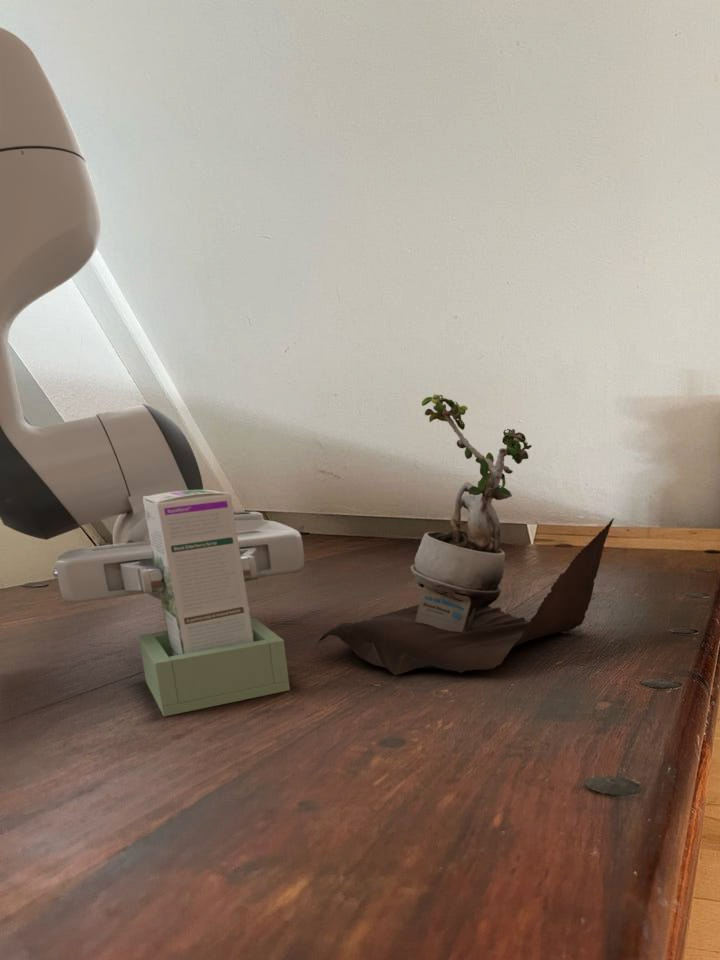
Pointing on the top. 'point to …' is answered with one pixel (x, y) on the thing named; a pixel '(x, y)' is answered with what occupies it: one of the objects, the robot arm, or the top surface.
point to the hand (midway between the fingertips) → (202, 575)
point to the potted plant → (470, 582)
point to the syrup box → (199, 569)
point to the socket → (214, 671)
